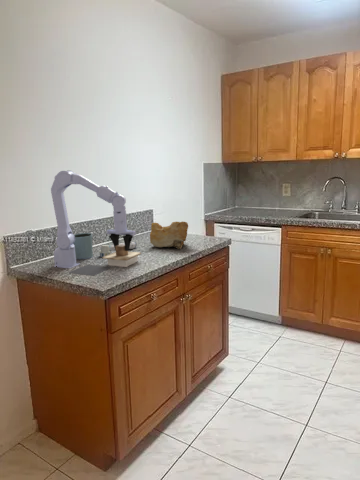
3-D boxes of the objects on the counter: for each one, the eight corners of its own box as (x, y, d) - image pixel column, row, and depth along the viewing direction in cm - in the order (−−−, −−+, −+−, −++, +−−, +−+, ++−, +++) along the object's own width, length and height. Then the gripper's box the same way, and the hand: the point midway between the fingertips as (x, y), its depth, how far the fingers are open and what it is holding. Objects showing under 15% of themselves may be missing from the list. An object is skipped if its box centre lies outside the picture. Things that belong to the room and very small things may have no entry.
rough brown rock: (198, 246, 206) (198, 220, 205) (184, 250, 192) (183, 222, 190) (163, 244, 218) (163, 219, 216) (147, 248, 204) (147, 221, 202)
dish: (108, 266, 169) (107, 257, 168) (119, 260, 178) (119, 252, 177) (126, 267, 165) (125, 259, 164) (137, 262, 174) (137, 254, 173)
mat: (67, 273, 159) (67, 272, 159) (87, 265, 171) (87, 264, 171) (93, 276, 153) (93, 275, 153) (112, 268, 166) (112, 266, 165)
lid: (102, 258, 167) (101, 247, 166) (118, 252, 179) (117, 241, 178) (126, 260, 162) (125, 249, 161) (141, 253, 174) (140, 243, 172)
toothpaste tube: (137, 241, 203) (104, 244, 182) (137, 253, 203) (104, 257, 183) (130, 240, 206) (97, 243, 185) (130, 252, 206) (96, 256, 186)
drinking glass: (97, 256, 189) (95, 233, 186) (87, 261, 179) (85, 237, 177) (80, 255, 192) (78, 232, 189) (69, 260, 182) (67, 236, 180)
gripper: (101, 221, 167) (104, 250, 169) (129, 222, 161) (131, 252, 164) (110, 219, 173) (112, 247, 176) (137, 220, 167) (139, 249, 170)
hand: (122, 249), depth 170 cm, fingers open, 5 cm apart
